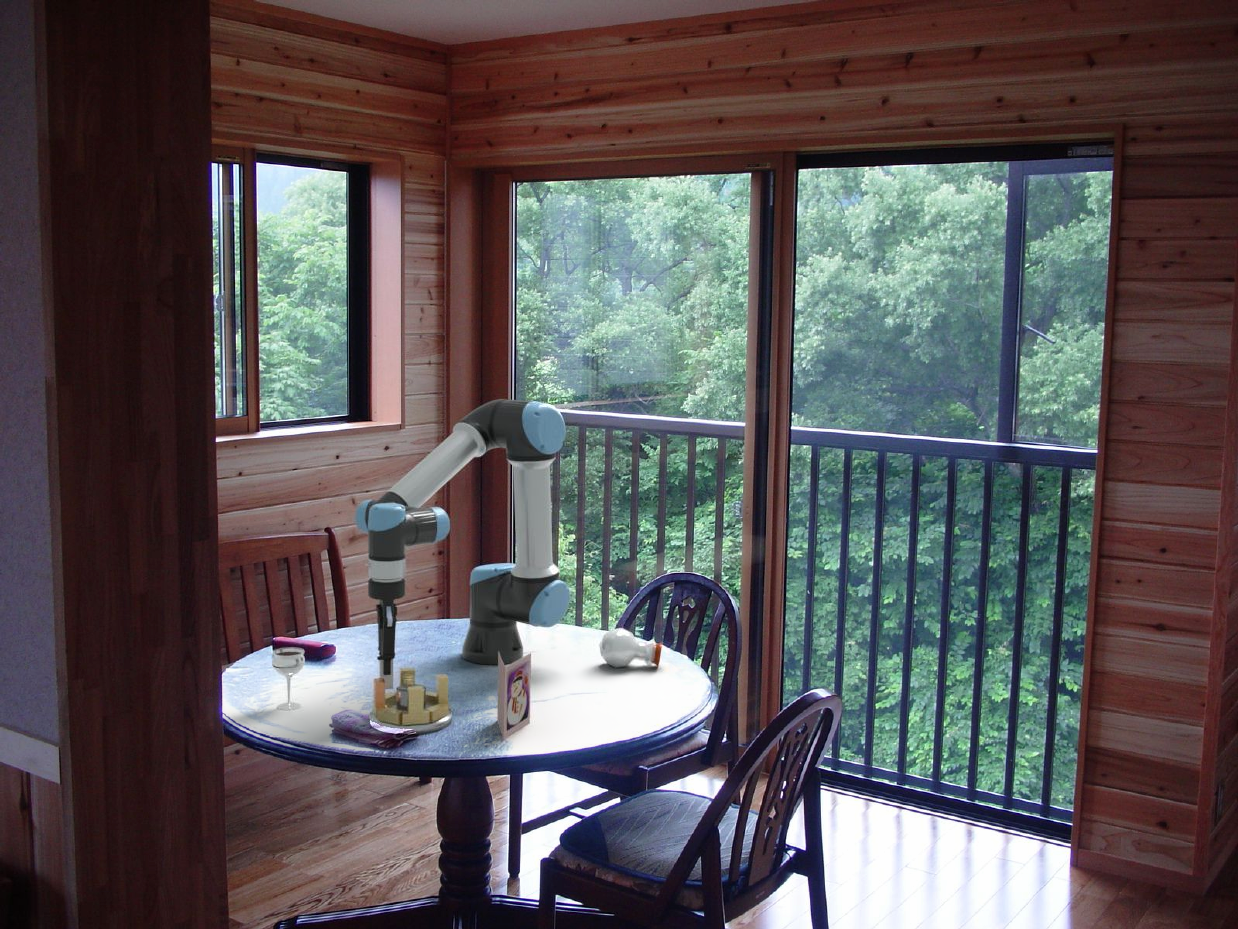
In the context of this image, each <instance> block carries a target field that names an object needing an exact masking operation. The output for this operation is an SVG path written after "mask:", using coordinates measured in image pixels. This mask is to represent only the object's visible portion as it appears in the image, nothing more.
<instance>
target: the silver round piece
mask: <svg viewBox="0 0 1238 929" xmlns="http://www.w3.org/2000/svg"><path fill="white" fill-rule="evenodd" d="M415 686H423V689H424V710H425V709H428V708H430V707H432V706H430V705H426V691H427V687H426V686H425V685H423V684H420V683H419V684H418V683H415V684H405V685H401V686H399V685H398V686H397V687H396V690H395V692H396V705H394V706H392V707H390V708H392V709H396V710H401V711H407V687H415ZM368 716H369V717H368V718H369V719H370V720H371V721H372V722H375V723H377V724H379V725H380V726H386V727H390V728H400V729H403V728H404V729H413V730H414V732H416V733H417V734H418V735H424V734H426V735H427V734H431V733H436V732H438V731H441V730H443V729H445V728H447V727H449V726H450V725H451V723H452V722H453V711H452V710H451V708H449V714H448V715H447V716H445V717H442V718H440V719H438V720H436V721H434V722H429V723H422V724H409V725H402V724H399V725H398V724H393V723H389V722H385V721H380V720H378V719H376V718H375V715H374V712H373V709H372V710H371V711H370V713H369V715H368Z"/></svg>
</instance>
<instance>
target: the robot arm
mask: <svg viewBox="0 0 1238 929" xmlns="http://www.w3.org/2000/svg"><path fill="white" fill-rule="evenodd" d="M563 417H564V416H563V415H562V414H561V412H560V411H559V410H558V409H557V407H555V406H554V405H553V404H550V403H545V402H540V401H534V400H521V399H519V400H518V399H507V398H499V399H495V400H494V399H493V400H491V401H488V402H487V403H484V404H482V405H480V406H478V407H477V408H475V409H474V410H472V411H471V412H470V413H468V414H467V415H465V416H464V417H463V418H461V420H459V421H458V422H457V423H456V424H455V425H454V426H453V428H452V433H451V434H450V435H449V436H447V438H446V439H444V440H443V441H442V442H440V444H439V445H438V446H436V448H434V449H433V450H432V451H431V452H430V453H428V454H427V455H426V456H425V457H424V458H423V459H422V460H421V461H420V462H419V463H417V464H416V465H415V466H414V467H413V468H412V469H411V470H409V471H408V473H406V474H405V475H404V476H403V477H401V479H399V480H398V481H397V482H396V483H395V484H394V485H393V486H391V488H389V489H388V490H387V491H386V492H384V493H383V494H382V496H380V497H379V498H378V499H367V500H363V501H362V502H360V503H359V505H357V507H356V510H355V512H354V523H355V525H356V527H357V529H358V530H359V531H360V532H362V533H365V534H367V539H368V540H367V542H368V547H367V550H368V562H367V563H365V565H364V566H365V567H366V568H367V569H368V577H369V579H368V582H367V583H368V584H367V588H368V590H367V591H368V592H367V596H368V597H369V598H370V599H372V600H377V601H379V602H378V604H375V611H376V615H377V616H376V617H377V618H376V619H377V620H376V623H377V636H378V639H377V640H378V641H377V642H378V647H377V650H378V656H376V658H377V659H376V660H377V661H378V662H379V664H378V666H379V667H378V668H379V669H378V670H379V673H378V674H379V677H378V678H384V680H385V690H393V689H394V659H395V658H396V652H395V650H396V649H395V646H396V626H397V621H398V619H397V615H398V606H396V605H397V604H396V603H394V602H395V600H399V599H403V597H405V594H406V580H405V578H404V577H406V548H407V547H415V546H420V545H426V544H434V543H436V542H439V541H442V540H445V539H446V538H447V536H449V533H450V529H451V528H450V526H451V525H450V524H451V522H450V521H451V520H450V517H449V515H448V513H447V512H446V510H444V509H443V508H441V507H439V506H427V507H422V506H423V505H424V504H425V503H426V502H427V501H428V500H430V498H431V497H432V496H434V495H435V494H436V493H437V492H438V491H439V490H441V488H442V487H444V485H446V484H447V482H449V481H450V480H451V479H453V477H454V476H455V475H457V473H459V472H460V471H461V470H462V469H463V468H464V467H465V466H466V465H467V464H469V463H470V461H471V460H473V459H474V458H480V457H482V456H483V455H484V454H486V453H487V452H488V451H490V450H492V449H497V448H500V449H505V450H506V452H505V453H506V454H505V455H506V460H507V462H508V463H509V464H510V465H512V468H513V470H512V471H513V492H514V518H515V519H514V520H515V521H514V522H515V526H514V527H515V550H516V553H515V554H516V563H513V562H512V563H511V562H509V563H508V562H505V563H491V564H484V565H479V566H476V567H474V568H473V569H472V571H471V572H470V580H469V585H468V586H469V627H468V628H467V629H468V630H467V633H466V635H465V638H464V642H463V643H462V644H463V645H462V648H461V651H462V652H461V656H462V658H463V659H464V660H466V661H468V662H471V663H475V664H480V665H481V664H483V665H498V651H499V653H500V656H501V658H502V661H503V663H504V665H505V664H511V663H513V662H515V661H517V660H519V659H521V658H523V657H524V646H523V642H522V639H521V636H520V632H519V629H518V626H517V623H522V624H526V625H530V626H532V627H533V628H534V627H536V628H537V627H538V628H539V627H540V628H551V627H554V626H556V625H557V624H559V622H561V620H562V619H563V618H564V616H565V614H566V613H567V611H568V609H569V605H570V602H571V601H570V600H571V591H570V587H569V586H568V585H567V583H566V582H564V581H563V580H561V579H560V568H559V567H558V566H557V565H556V564H555V563H554V562H553V536H552V535H553V532H552V530H553V529H552V499H551V493H552V492H551V470H550V469H551V464H552V463H553V462H554V461H555V460H556V458H557V454H556V453H557V452H559V451H560V450H561V449H562V447H563V445H564V443H563V442H564V441H565V440H566V431H567V430H566V424H565V419H564V418H563ZM421 507H422V508H421Z"/></svg>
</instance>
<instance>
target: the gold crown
mask: <svg viewBox="0 0 1238 929" xmlns="http://www.w3.org/2000/svg"><path fill="white" fill-rule="evenodd" d="M398 670H399V672H398V673H399V675H398V677H399V678H398V679H399V682H398V683H399V685H398V686H401V685H405V684H416V682H415V681H416V670H415V668H414V667H402V668H401V667H400V668H399V669H398ZM423 686H424V685H423ZM423 686H415V687H407V711H401V710H396V709H392V708H390V707H392V706H394V705H396V691H393V692H388V693H386V689H385V680H384V678H379V677H378V678H373V700H372V710H373V712H374V715H375V718H376V719H378V720H380V721H385V722H389V723H393V724H398V725H399V724H402V725H409V724H422V723H429V722H434V721H436V720H438V719H440V718H442V717H445V716H447V715H448V714H449V709H450V702H449V677H448V675H447V673H442V674H436V686H435V687H436V691H435V692H434V691H430V690H429V691H427V690H426V705H430V706H432V707H430V708H428V709H425V710H424V689H423Z"/></svg>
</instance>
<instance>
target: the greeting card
mask: <svg viewBox="0 0 1238 929" xmlns="http://www.w3.org/2000/svg"><path fill="white" fill-rule="evenodd" d="M497 667H498V668H497V713H496V714H497V724H498V727H499V730H500V732H501V736H502V739H503V740H506V739H507V738H509V737H510V736H512V735H513V734H515V733H516V732H518V731H519V730H521V729H523V728H524V727H525V726H527V725H528V724H530V721H531V677H532V675H531V672H532V652H529V654H528V653H527V654H526V655H525V656H524V655H523V657H522V658H521V659H519V660H517V661H515V662H511V663H509V664H508V665H506V666H505V664H504V663H503V661H502V658H501V656H500V653H499V651H498V664H497Z"/></svg>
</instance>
